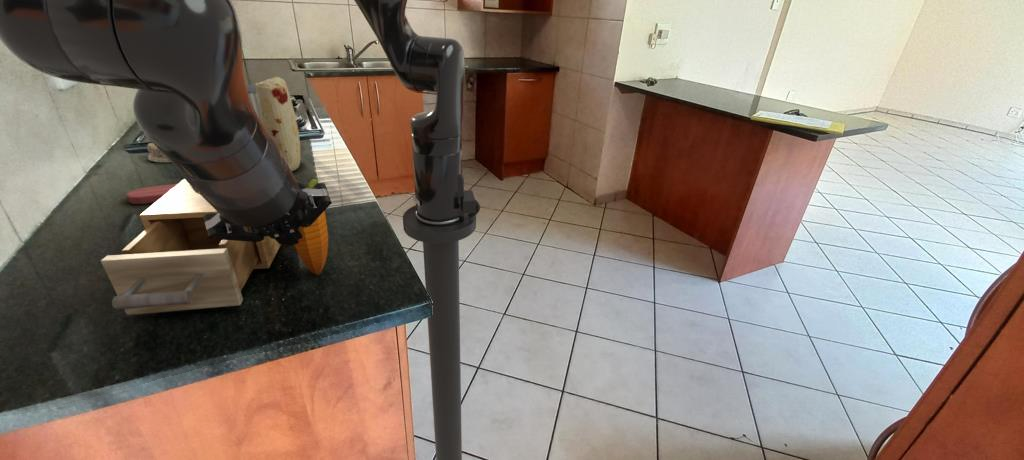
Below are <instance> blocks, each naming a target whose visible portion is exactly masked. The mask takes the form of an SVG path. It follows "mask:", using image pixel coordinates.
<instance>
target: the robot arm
mask: <svg viewBox="0 0 1024 460" xmlns="http://www.w3.org/2000/svg"><path fill="white" fill-rule="evenodd" d="M353 1H354V2H355V4H356V6H357V7H358V9H359V11H360V12H361V14H362V15H363V17H364V19H365V20H366V22H367V23H368V26H369V27H370V29H371V30H372V31H373V34H374V36H375V37H376V39H377V41H378V42H379V45H380V46H381V48H382V50H383V52H384V53H385V56H386V58H387V60H388V62H389V64H390V66H391V68H392V70H393V72H394V74H395V75H396V77H397V79H398V81H399V82H400V83H401V84H402V86H403V87H404V88H405V89H407V90H409V91H411V92H413V93H417V94H425V95H432V96H436V99H435V105H434V107H433V108H431V109H429V110H425V111H421V112H418V113H416V114H414V115H413V116H412V117H411V118H410V133H411V134H410V136H411V153H412V167H413V168H412V169H413V181H414V195H412V201H413V202H414V203H415V205H416V218H417V220H418V221H419V222H421V223H423V224H425V225H429V226H448V225H452V224H455V223H457V222H462V221H464V213H470V214H468V217H469V218H472V217H473V216H475V215H476V216H477V215H478V214H479V212H480V210H481V204H480V203H479V201H478V200H476V198H475V193H474V191H473V190H472V189H468V190H467V189H466V190H465V177H464V173H463V120H464V112H465V83H466V59H465V52H464V49H463V47H462V45H461V43H460V42H459V41H458V40H457V39H455V38H449V37H438V36H427V35H425V36H424V35H419V34H418V33H416V31H414V29H413V27H412V26H411V25H410V23H409V20H408V18H407V15H406V7H407V3H408V0H353ZM0 42H1V43H2V44H3V46H5V47H6V49H8V50H9V52H10V53H11V54H13V55H14V56H15V57H16V58H17V59H19V61H21V62H23V63H24V64H25V65H27V66H28V67H31V68H32V69H34V70H36V71H38V72H40V73H43V74H45V75H47V76H50V77H54V78H58V79H61V80H66V81H70V82H75V83H82V84H90V85H100V86H107V87H109V86H110V87H117V88H118V87H119V88H125V89H126V88H127V89H133V90H136V92H135V95H134V97H133V101H132V102H133V103H132V109H133V115H134V118H135V120H136V123H137V125H138V126H139V128H140V130H141V131H142V132H143V134H144V135H145V137H147V139H149V141H150V143H153V144H154V145H155V146H156V147H157V148H158V149H159V150H160V151H161V152H162V153H163V154H164V155H165V156H166V157H167V158H168V159H169V160H170V161H171V162H170V163H172V164H173V165H174V166H175V167H176V168H177V169H178V171H179V172H180V174H181V175H182V177H183V179H184V178H185V179H186V181H187V182H188V183H189V184H190V186H191V187H192V189H193V190H194V191H195V192H196V193H198V194H200V195H201V196H202V197H203V198H204V199H205V200H206V201H207V202H208V203H209V204H210V205H211V206H212V207H213V208H214V209H215V210H216V211H218V212H219V213H218V214H215V213H210V214H206V215H204V221H205V226H206V230H207V233H208V236H209V238H210V239H221V240H234V241H248V242H260V241H262V240H264V237H265V236H269V237H270V238H272V239H275V240H276V241H277V242H278V243H279V244H281V245H280V246H283V245H285V246H286V247H291V246H295V245H294V244H297V243H299V239H301V238H302V237H303V235H302V232H301V229H300V226H301V227H308V226H310V225H312V224H313V223H314V221H315V220H316V219H317V218H318V217H319V216H320V215H321V214H322V213H323V212H324V211H325V212H326V210H327V209H328V208H329V207H330V206H331V205H332V200H331V197H330V194H329V191H328V188H327V186H326V185H327V184H326V183H324V182H318V183H317V184H316V185H315V186H314V187H313V188H312V189H310V188H308V187H306V185H305V184H304V183H303V182H301V181H299V180H297V178H296V177H295V175H294V173H293V171H291V170H290V168H289V166H288V164H287V162H286V160H285V158H284V157H283V155H282V153H281V151H280V149H279V147H278V145H277V144H276V142H275V140H274V139H273V137H272V136H271V135H270V134H269V132H268V131H267V130H266V129H265V128H264V126H263V125H262V123H261V121H260V119H259V117H258V115H257V114H256V112H255V110H254V108H253V106H252V104H251V102H250V100H249V96H248V91H247V86H246V85H247V81H246V76H245V70H244V61H243V59H244V58H243V38H242V29H241V22H240V18H239V14H238V12H237V10H236V8H235V6H234V4H233V2H232V0H0ZM243 226H244V227H249V229H250V232H246V231H245V230H244V228H243Z"/></svg>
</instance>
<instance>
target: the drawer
mask: <svg viewBox="0 0 1024 460" xmlns="http://www.w3.org/2000/svg"><path fill="white" fill-rule="evenodd" d="M243 228H244V230H245V231H246V232H250V229H249V227H244V226H243ZM121 253H122V254H107V255H106V256H105V257H103V258H102V259H101V260H100V263H101V265H102V267H103V270H104V271H105V273H106V275H107V277H108V279H109V281H110V283H111V285H112V288H113V290H114V292H115V293H116V296H114V297H113V298H112V301H111V305H112V308H113V309H114V310H124V312H125V314H126V315H127V316H131V315H143V314H144V315H145V314H156V313H166V312H167V313H168V312H181V311H189V310H190V311H191V310H200V309H201V310H203V309H213V308H224V307H237V306H241V305H242V303H243V301H244V298H243V294H242V290H243V288H244V287H245V285H246V283H247V281H248V280H249V277H250V276H251V274H252V272H253V271H254V270H255V269H254V267H255V265H256V264H257V262H258V260H259V258H260V255H259V251H258V248H257V244H256V242H248V241H234V240H221V239H210V238H209V236H208V233H207V230H206V226H205V221H204V217H201V218H179V219H158V220H155V221H154V222H153V223H152V224H151V225H150V226H149V227H148V228H146V229H145V228H144V230H143V231H142V232H141V233H140V234H138V235H137V236H136V237H135V238H133V239H132V241H131V242H129V243H128V244H127V245H126V246H125V247H124V248H123V249H121Z"/></svg>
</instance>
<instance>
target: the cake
mask: <svg viewBox="0 0 1024 460" xmlns="http://www.w3.org/2000/svg"><path fill="white" fill-rule="evenodd" d="M146 149H147V152H148V153H149V154H148V156H147V159H148V161H151V162H155V163H172V162H171V161H170V160H169V159H168V158H167V157H166V156H165V155H164V154H163V153H162V152H161V151H160V150H159V149H158V148H157V147H156V146H155V145H154V144H153V143H152V142H150V143H147V145H146Z"/></svg>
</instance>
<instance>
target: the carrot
mask: <svg viewBox="0 0 1024 460" xmlns="http://www.w3.org/2000/svg"><path fill="white" fill-rule="evenodd" d="M318 183H319V180H317V179H314V178H312V179H311V181H310V182H309V184H308V187H307V188H310V189H312V188H313V187H314V186H315V185H316V184H318ZM300 229H301V232H302V235H303V237H302V238H301V239H299V243H297V244H294V245H293V246H294V248H295V249H296V251H297V253H298V255H299V258H300V259H301V261H302V263H303V264H304V266H306V268H307V269H308V270H309V271H310V272H311V273H312V274H313V275H316V276H319V275H320V274H321V273H322V272H323V269H324V267H325V265H326V261H327V257H328V250H329V232H328V231H329V230H328V224H327V217H326V210H325V211H324V212H323V213H322V214H321V215H320V216H319V217H318V218H317V219H316V220H315V221H314V223H313V224H312V225H310V226H308V227H301V226H300Z"/></svg>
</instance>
